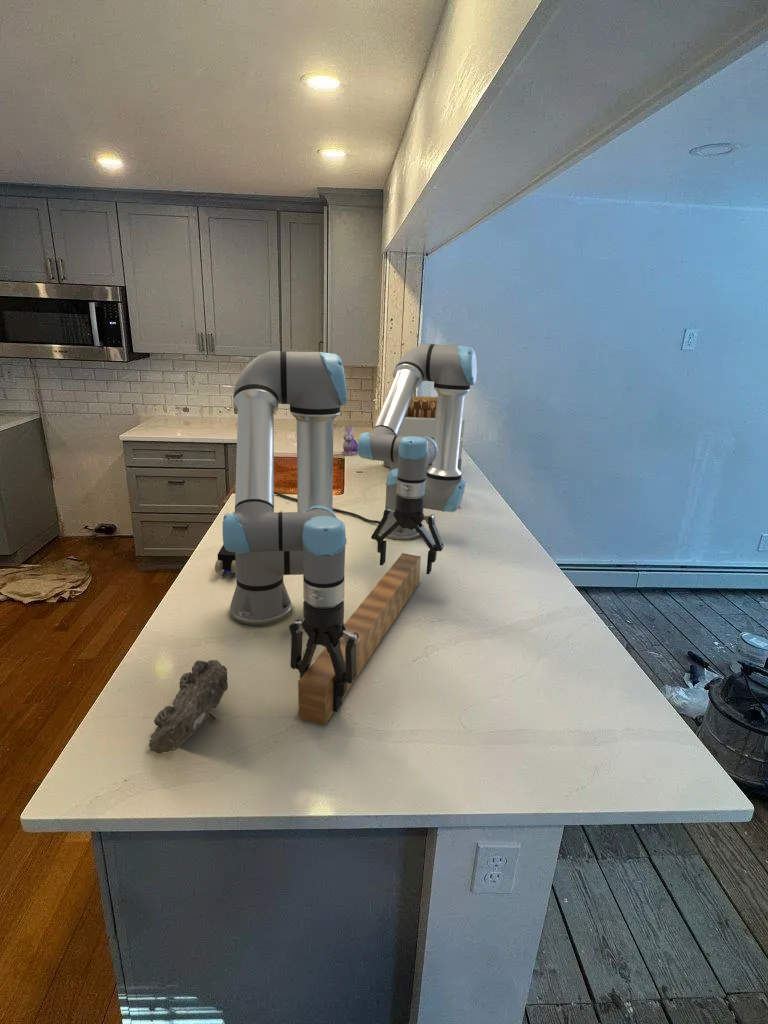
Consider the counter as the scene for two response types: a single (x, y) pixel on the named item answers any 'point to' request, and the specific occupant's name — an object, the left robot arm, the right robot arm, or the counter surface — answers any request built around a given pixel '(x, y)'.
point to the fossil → (189, 705)
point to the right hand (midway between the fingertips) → (405, 567)
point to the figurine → (349, 442)
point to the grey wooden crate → (422, 423)
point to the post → (371, 628)
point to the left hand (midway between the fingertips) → (322, 703)
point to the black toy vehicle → (225, 562)
